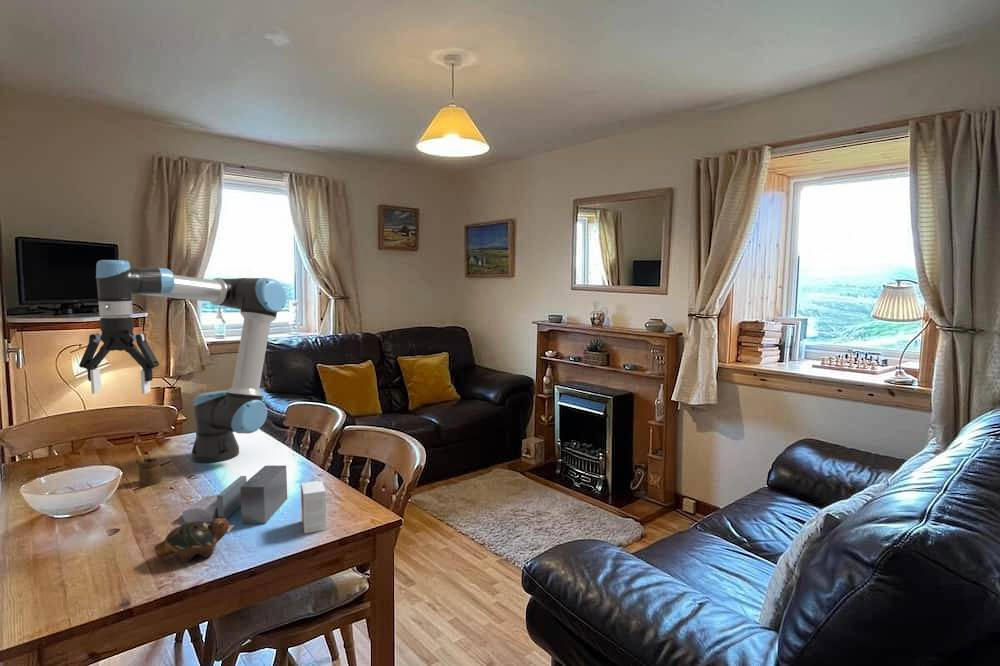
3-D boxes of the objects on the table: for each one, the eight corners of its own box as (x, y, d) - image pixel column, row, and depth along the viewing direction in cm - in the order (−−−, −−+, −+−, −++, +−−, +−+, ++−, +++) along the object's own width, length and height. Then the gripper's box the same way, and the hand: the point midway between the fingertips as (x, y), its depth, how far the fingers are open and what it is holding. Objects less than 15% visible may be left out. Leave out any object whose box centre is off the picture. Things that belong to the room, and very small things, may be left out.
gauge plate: (242, 499, 157) (240, 475, 157) (247, 499, 157) (246, 475, 157) (208, 530, 139) (207, 503, 138) (214, 530, 139) (213, 503, 138)
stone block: (180, 529, 143) (215, 523, 143) (175, 512, 143) (211, 505, 142) (207, 511, 155) (240, 506, 155) (203, 495, 155) (236, 489, 154)
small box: (301, 521, 145) (300, 482, 144) (323, 517, 147) (322, 479, 146) (303, 534, 137) (302, 494, 136) (327, 530, 140) (325, 490, 138)
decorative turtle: (234, 554, 127) (230, 523, 126) (157, 578, 119) (152, 544, 118) (228, 536, 135) (224, 506, 134) (156, 556, 127) (151, 525, 126)
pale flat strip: (195, 526, 141) (195, 524, 141) (234, 526, 141) (234, 524, 141) (188, 532, 138) (188, 530, 138) (228, 532, 138) (228, 530, 138)
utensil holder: (159, 484, 169) (157, 446, 168) (136, 487, 167) (133, 448, 165) (164, 477, 174) (162, 441, 173) (141, 480, 172) (138, 443, 171)
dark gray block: (266, 498, 159) (265, 465, 158) (287, 498, 159) (286, 465, 158) (241, 523, 143) (240, 487, 142) (265, 523, 143) (263, 486, 142)
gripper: (59, 317, 146) (65, 395, 148) (154, 317, 147) (158, 395, 149) (80, 315, 153) (85, 389, 156) (170, 315, 154) (174, 389, 156)
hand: (121, 392), depth 152 cm, fingers open, 13 cm apart
